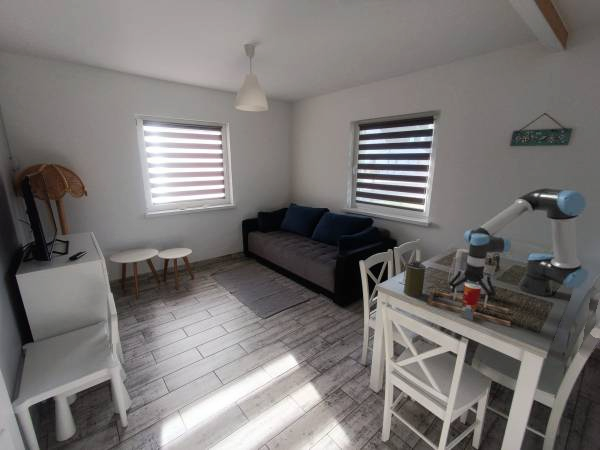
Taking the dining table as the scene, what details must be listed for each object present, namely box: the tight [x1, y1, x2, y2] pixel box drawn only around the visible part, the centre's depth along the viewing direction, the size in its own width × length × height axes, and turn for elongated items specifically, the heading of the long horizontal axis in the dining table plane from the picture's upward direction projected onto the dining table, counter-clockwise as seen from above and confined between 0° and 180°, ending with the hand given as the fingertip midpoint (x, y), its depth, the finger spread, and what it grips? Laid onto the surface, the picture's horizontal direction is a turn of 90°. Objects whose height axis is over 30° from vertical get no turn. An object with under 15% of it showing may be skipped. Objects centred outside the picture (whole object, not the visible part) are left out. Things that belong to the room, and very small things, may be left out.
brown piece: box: [426, 289, 511, 328], centre depth 140 cm, size 36×15×2 cm, turn 55°
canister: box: [403, 259, 427, 298], centre depth 154 cm, size 11×10×20 cm
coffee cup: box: [461, 280, 483, 312], centre depth 138 cm, size 8×8×15 cm
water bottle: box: [447, 248, 469, 292], centre depth 158 cm, size 9×8×25 cm
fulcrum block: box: [460, 305, 474, 321], centre depth 131 cm, size 5×4×6 cm
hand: (469, 302), depth 139 cm, fingers open, 13 cm apart
